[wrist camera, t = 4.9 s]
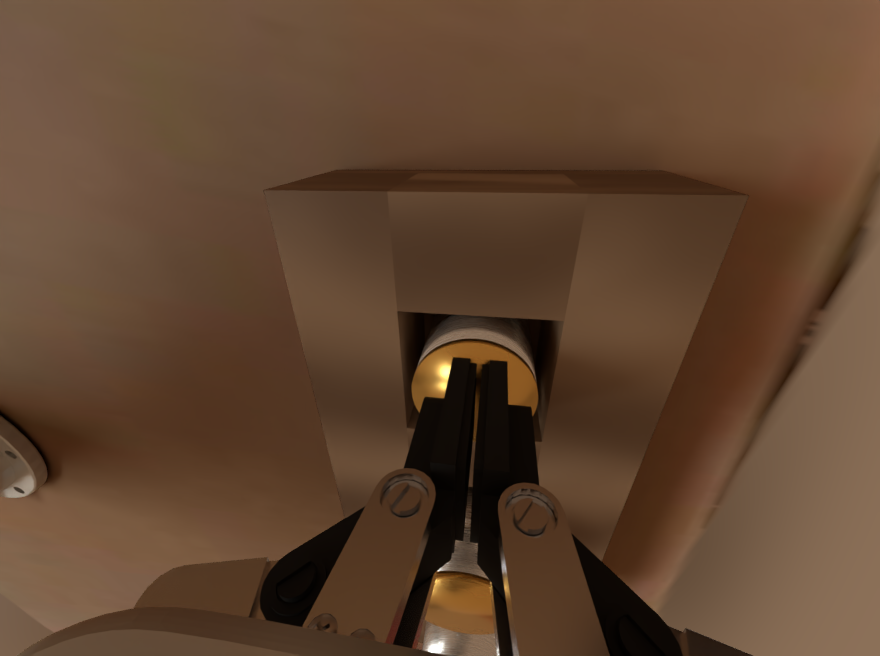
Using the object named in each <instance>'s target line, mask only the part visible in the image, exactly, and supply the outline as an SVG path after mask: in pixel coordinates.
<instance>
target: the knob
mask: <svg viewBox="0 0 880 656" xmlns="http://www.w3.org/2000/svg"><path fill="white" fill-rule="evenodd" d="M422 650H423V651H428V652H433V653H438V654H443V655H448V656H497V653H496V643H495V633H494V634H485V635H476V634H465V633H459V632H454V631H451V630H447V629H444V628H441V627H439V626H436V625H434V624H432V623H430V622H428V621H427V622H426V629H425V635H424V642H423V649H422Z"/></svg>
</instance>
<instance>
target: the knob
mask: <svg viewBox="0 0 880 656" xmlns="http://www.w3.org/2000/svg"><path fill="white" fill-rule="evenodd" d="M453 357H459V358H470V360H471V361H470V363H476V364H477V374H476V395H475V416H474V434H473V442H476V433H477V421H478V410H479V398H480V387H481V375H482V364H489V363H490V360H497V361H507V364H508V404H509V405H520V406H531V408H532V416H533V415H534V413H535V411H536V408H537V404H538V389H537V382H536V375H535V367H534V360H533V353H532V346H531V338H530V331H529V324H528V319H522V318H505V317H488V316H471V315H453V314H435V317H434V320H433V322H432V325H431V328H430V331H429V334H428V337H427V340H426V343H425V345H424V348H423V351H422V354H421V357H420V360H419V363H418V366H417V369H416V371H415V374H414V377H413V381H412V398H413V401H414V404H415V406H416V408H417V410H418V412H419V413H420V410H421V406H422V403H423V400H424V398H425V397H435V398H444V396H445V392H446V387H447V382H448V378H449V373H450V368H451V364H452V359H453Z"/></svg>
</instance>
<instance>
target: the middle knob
mask: <svg viewBox="0 0 880 656" xmlns="http://www.w3.org/2000/svg"><path fill="white" fill-rule="evenodd" d="M472 488H473V487H468V497H467V507H466V518H465V528H464V538H463V541H458V540H455V549H454V553H452V557H451V560H450V561H449V562H447V563H446V564H445V565H444V566H443V567H441V568H440V569H439V570H438V572H437V578H436V582H435V585H434V589H433V592H432V596H431V599H430V603H429V606H428V610H427V613H426V616H425V620H426V621H428V622H430V623H432V624H434V625H436V626H439V627H441V628H444V629H447V630H451V631H454V632H459V633H465V634H476V635H485V634H494V624H493V614H492V604H491V595H490V580H489V579H488V577H487V576H486V575H485V573H484V572H483V571H482V569H481V568H480V567H479V566H478V564H477V551H478V543H471V542H470V527H471V507H472Z"/></svg>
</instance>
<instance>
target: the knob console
mask: <svg viewBox="0 0 880 656" xmlns="http://www.w3.org/2000/svg"><path fill="white" fill-rule="evenodd" d="M264 194H265V198H266V202H267V206H268V210H269V214H270V218H271V222H272V226H273V231H274V235H275V239H276V243H277V247H278V251H279V255H280V259H281V263H282V267H283V271H284V275H285V279H286V283H287V287H288V291H289V295H290V299H291V303H292V307H293V311H294V315H295V319H296V323H297V327H298V331H299V335H300V340H301V344H302V348H303V352H304V356H305V360H306V364H307V368H308V372H309V376H310V380H311V384H312V388H313V392H314V396H315V400H316V404H317V408H318V412H319V416H320V420H321V424H322V428H323V432H324V436H325V440H326V445H327V449H328V453H329V457H330V461H331V465H332V469H333V473H334V477H335V481H336V485H337V489H338V493H339V497H340V501H341V505H342V509H343V513H344V517H345V518H347V517H348V516H350V515H352V514H353V513H355V512H356V511H358V510H360V509H361V508H363V507H365V506H366V504H367V502H368V501H369V499H370V497H371V495H372V493H373V491H374V489H375V487H376V486H377V484H378V483H379V482H380V480H381V479H382V478H383V477H384V476H386V475H387V474H388V473H390V472H393V471H395V470H397V469H403V468H404V465H405V462H406V458H407V455H408V451H409V448H410V444H411V441H412V437H413V434H414V431H415V427H416V424H417V420H418V417H419V412H418V410H417V408H416V406H415V404H414V401H413V398H412V381H413V377H414V374H415V371H416V369H417V366H418V363H419V360H420V357H421V354H422V351H423V348H424V345H425V343H426V340H427V337H428V334H429V331H430V328H431V325H432V322H433V320H434V317H435V314H453V315H471V316H488V317H505V318H522V319H528V324H529V331H530V338H531V346H532V353H533V360H534V367H535V375H536V382H537V389H538V404H537V408H536V411H535V413H534V415H533V426H534V436H535V446H536V456H537V466H538V476H539V486H541V487H544V488H545V489H547V490H548V491H549V492H551V493H552V494H553V495H554V496H555V497H556V498H557V499H558V501H559V502H560V504H561V506H562V508H563V510H564V512H565V515H566V518H567V522H568V525H569V528H570V531H571V533H572V534H573V535H574V536H575V537H576V538H577V539H578V540H579V541H580V542H582V543H583V544H584V545H585V546H586V547H587V548H588V549H589V550H590V551H591V552H592V553H593V554H594V555H595V556H596V557H597V558H598V559H600V560H601V561H602V559H603V557H604V554H605V552H606V549H607V547H608V544H609V542H610V539H611V537H612V534H613V532H614V529H615V527H616V524H617V522H618V519H619V517H620V515H621V512H622V510H623V507H624V505H625V502H626V500H627V497H628V495H629V492H630V490H631V487H632V485H633V482H634V480H635V477H636V475H637V472H638V470H639V467H640V465H641V462H642V460H643V457H644V455H645V452H646V450H647V447H648V445H649V442H650V440H651V438H652V435H653V433H654V430H655V428H656V425H657V423H658V420H659V418H660V415H661V413H662V410H663V408H664V405H665V403H666V400H667V398H668V395H669V393H670V390H671V388H672V385H673V383H674V380H675V378H676V375H677V373H678V370H679V368H680V365H681V363H682V361H683V358H684V356H685V353H686V351H687V348H688V346H689V343H690V341H691V338H692V336H693V333H694V331H695V328H696V326H697V323H698V321H699V318H700V316H701V313H702V311H703V308H704V306H705V303H706V301H707V298H708V296H709V293H710V291H711V288H712V286H713V284H714V281H715V279H716V276H717V274H718V271H719V269H720V266H721V264H722V261H723V259H724V256H725V254H726V251H727V249H728V246H729V244H730V241H731V239H732V236H733V234H734V231H735V229H736V226H737V224H738V221H739V219H740V216H741V214H742V211H743V209H744V207H745V204H746V202H747V199H748V197H749V195H746V194H742V193H739V192H735V191H732V190H728V189H725V188H721V187H718V186H714V185H711V184H707V183H704V182H700V181H697V180H693V179H690V178H686V177H683V176H679V175H676V174H672V173H669V172H665V171H569V170H335V171H331V172H327V173H324V174H320V175H316V176H313V177H309V178H306V179H302V180H298V181H295V182H291V183H288V184H284V185H280V186H277V187H273V188H269V189H266V190H264ZM475 444H476V442H473V445H472V455H471V466H470V476H469V486H468V487H473V470H474V456H475ZM426 622H427V621H426V620H424V623H423V627H422V630H421V634H420V637H419V641H418V642H420V643H423V642H424V635H425V629H426Z"/></svg>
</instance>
